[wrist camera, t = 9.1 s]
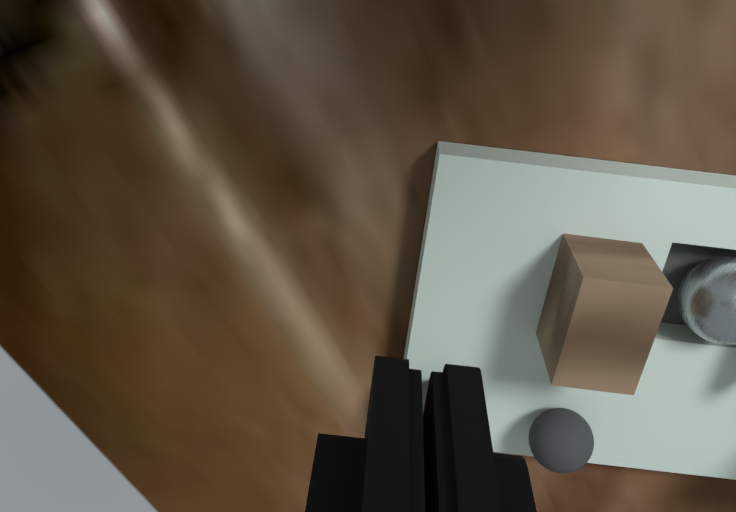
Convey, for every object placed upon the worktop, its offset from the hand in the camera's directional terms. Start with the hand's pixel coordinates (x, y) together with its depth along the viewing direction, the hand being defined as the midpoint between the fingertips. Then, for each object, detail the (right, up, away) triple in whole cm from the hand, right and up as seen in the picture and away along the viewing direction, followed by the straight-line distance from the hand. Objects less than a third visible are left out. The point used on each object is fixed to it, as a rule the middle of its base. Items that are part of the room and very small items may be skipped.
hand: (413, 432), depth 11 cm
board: (+13, -1, +28) cm, 30 cm away
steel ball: (+18, +1, +24) cm, 30 cm away
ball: (+10, -7, +27) cm, 30 cm away
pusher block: (+11, +1, +25) cm, 27 cm away
